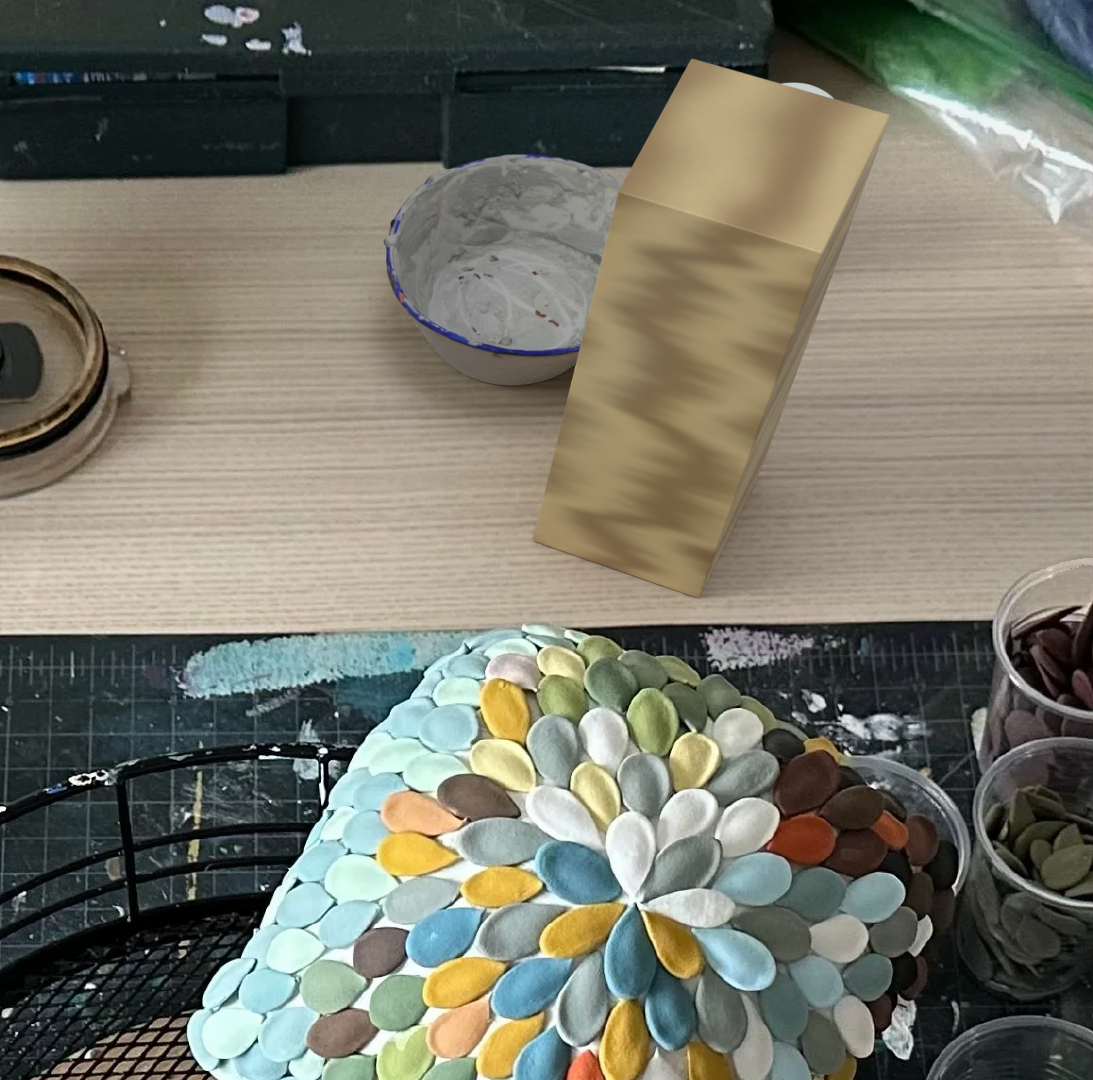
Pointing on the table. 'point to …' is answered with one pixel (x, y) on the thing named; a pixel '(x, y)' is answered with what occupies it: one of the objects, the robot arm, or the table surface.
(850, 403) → the table surface
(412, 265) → the bowl
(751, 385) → the stand
